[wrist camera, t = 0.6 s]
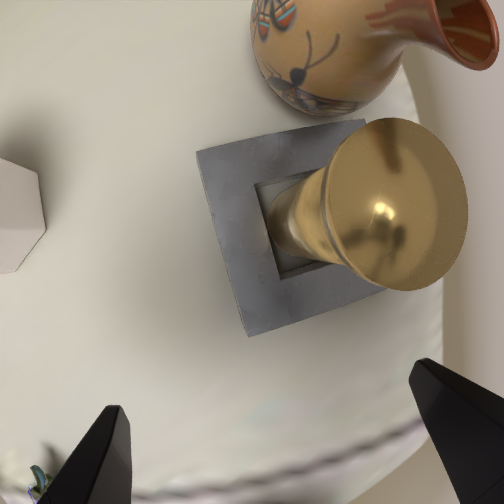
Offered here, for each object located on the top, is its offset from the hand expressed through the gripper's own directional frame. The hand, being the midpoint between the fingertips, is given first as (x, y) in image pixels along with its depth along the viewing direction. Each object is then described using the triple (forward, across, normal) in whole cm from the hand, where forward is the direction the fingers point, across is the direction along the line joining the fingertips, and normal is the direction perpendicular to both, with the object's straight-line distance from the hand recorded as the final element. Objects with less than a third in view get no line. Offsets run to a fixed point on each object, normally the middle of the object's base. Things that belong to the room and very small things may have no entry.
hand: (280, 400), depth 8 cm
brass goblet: (+15, -5, 0) cm, 16 cm away
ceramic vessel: (+20, -6, -11) cm, 23 cm away
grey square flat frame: (+15, -5, 0) cm, 16 cm away
